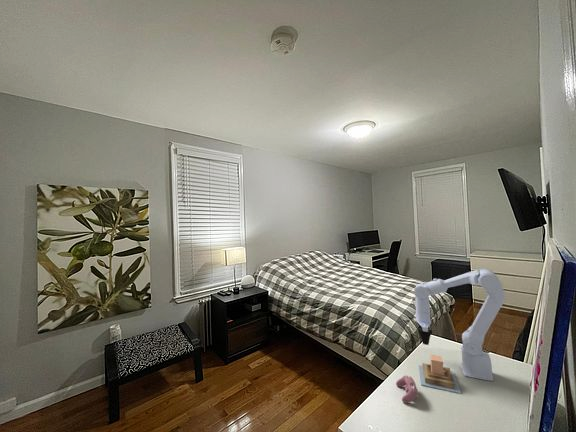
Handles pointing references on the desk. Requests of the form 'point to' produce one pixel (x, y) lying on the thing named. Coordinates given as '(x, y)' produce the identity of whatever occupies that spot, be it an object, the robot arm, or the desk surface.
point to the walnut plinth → (438, 377)
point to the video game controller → (408, 388)
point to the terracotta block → (436, 365)
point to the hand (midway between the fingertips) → (424, 340)
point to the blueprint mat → (437, 385)
